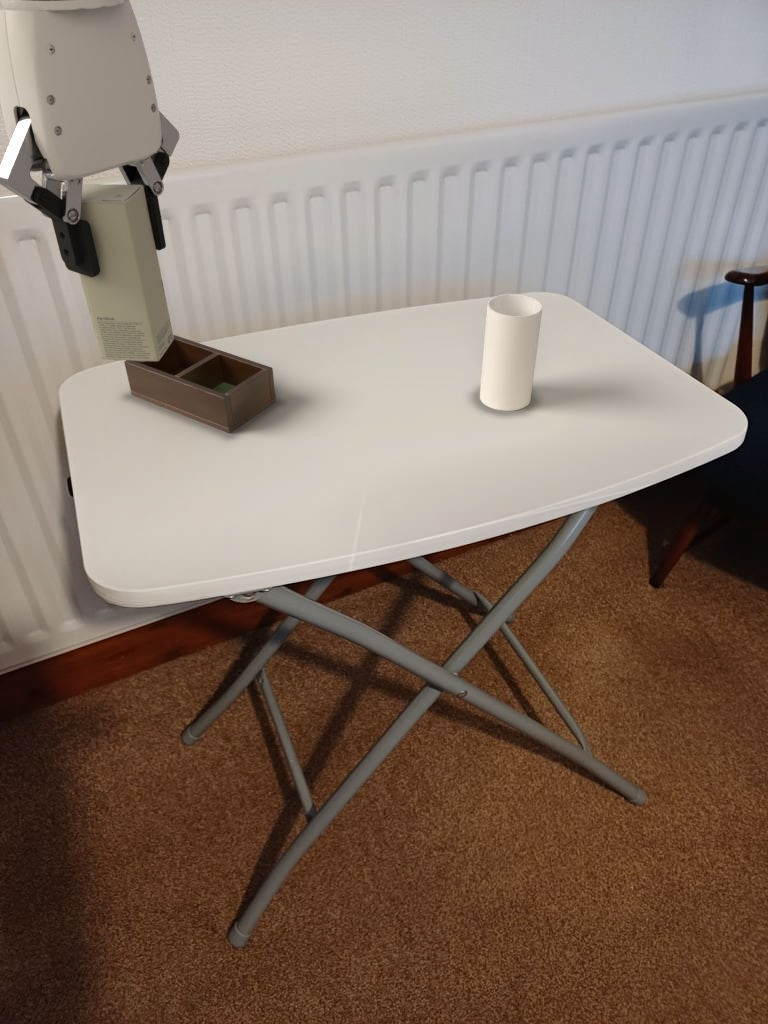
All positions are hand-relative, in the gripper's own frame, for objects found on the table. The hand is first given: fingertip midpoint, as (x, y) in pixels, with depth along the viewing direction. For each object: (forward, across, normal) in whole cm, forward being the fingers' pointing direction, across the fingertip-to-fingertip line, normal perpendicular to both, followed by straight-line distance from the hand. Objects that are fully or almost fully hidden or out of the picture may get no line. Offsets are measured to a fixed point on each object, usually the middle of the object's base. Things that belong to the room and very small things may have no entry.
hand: (117, 256), depth 60 cm
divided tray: (+27, -19, -14) cm, 36 cm away
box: (+8, 0, 0) cm, 8 cm away
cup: (+27, -40, +16) cm, 50 cm away
